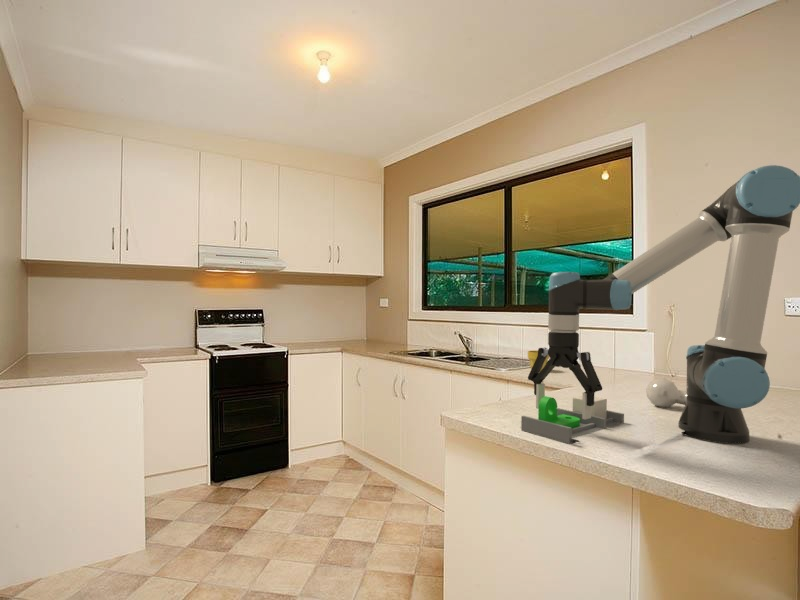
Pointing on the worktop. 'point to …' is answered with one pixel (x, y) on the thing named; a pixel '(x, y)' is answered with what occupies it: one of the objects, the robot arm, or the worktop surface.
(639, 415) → the worktop surface
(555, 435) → the grey rail frame
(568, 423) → the mechanical part
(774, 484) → the worktop surface
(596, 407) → the block
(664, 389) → the potion bottle
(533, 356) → the plant pot
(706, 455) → the worktop surface
